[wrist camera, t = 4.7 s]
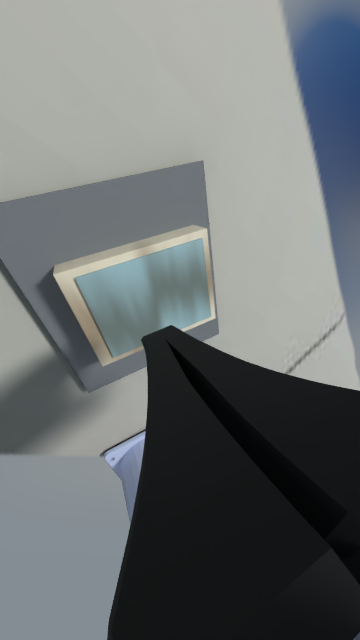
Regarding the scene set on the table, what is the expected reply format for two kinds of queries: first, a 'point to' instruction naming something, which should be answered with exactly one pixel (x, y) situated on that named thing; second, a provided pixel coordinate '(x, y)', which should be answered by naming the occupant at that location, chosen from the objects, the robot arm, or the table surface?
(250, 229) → the table surface
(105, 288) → the birch framed mirror
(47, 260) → the rubber mat
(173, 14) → the table surface
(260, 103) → the table surface
